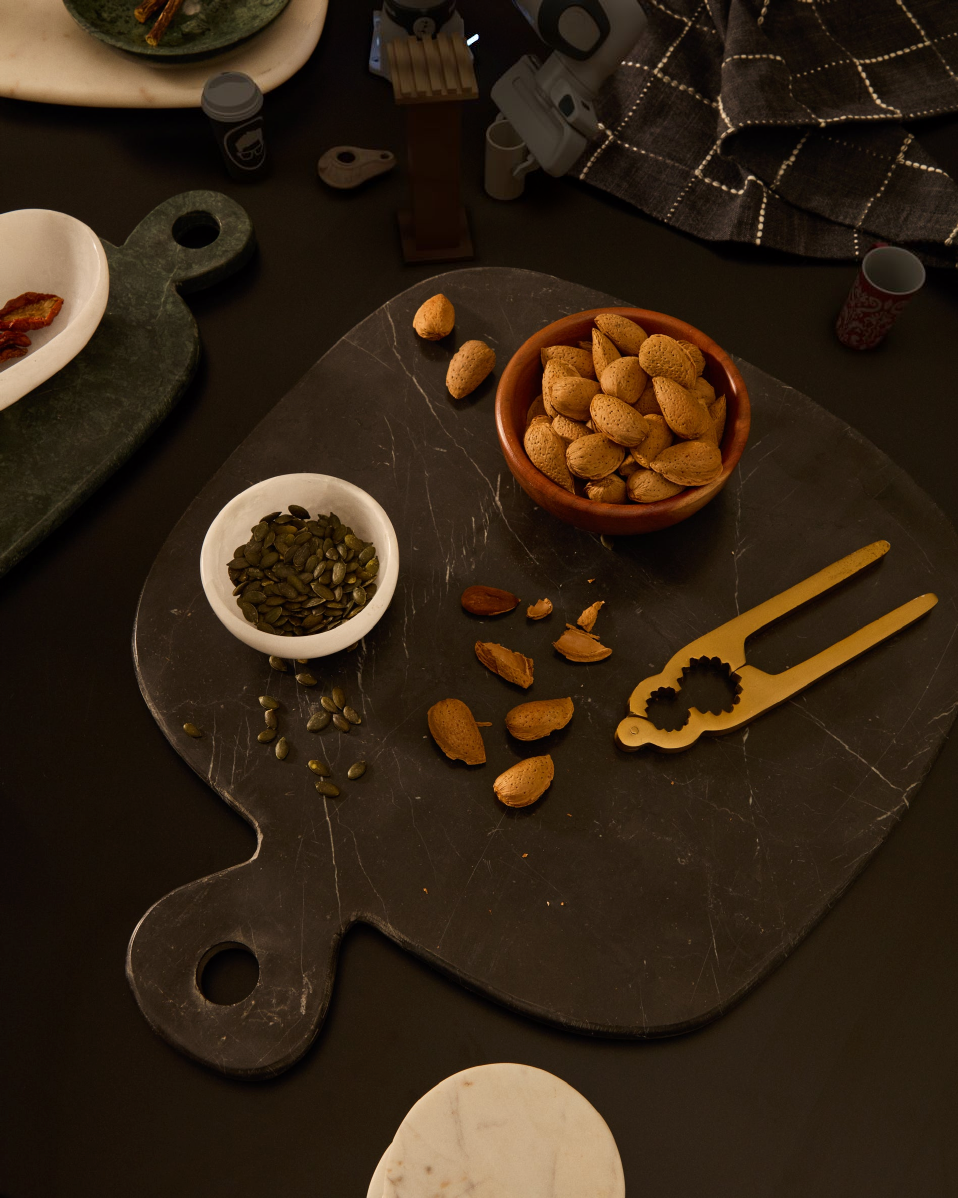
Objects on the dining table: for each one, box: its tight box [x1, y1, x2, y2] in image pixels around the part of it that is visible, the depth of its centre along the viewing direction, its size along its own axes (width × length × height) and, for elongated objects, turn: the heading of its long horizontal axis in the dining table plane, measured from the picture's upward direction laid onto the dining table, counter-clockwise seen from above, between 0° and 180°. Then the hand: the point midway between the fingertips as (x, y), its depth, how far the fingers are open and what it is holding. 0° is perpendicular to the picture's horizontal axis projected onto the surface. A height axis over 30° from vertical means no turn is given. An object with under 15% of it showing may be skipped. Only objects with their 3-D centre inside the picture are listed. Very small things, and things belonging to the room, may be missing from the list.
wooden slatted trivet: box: [386, 32, 479, 106], centre depth 130 cm, size 11×11×2 cm
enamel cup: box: [483, 120, 529, 201], centre depth 158 cm, size 7×7×10 cm
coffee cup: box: [200, 70, 269, 184], centre depth 156 cm, size 10×10×15 cm
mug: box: [834, 241, 927, 351], centre depth 146 cm, size 13×9×14 cm
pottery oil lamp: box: [317, 145, 397, 190], centre depth 160 cm, size 9×12×7 cm
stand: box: [396, 100, 475, 267], centre depth 144 cm, size 11×11×30 cm
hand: (502, 159), depth 158 cm, fingers closed on enamel cup, 7 cm apart
